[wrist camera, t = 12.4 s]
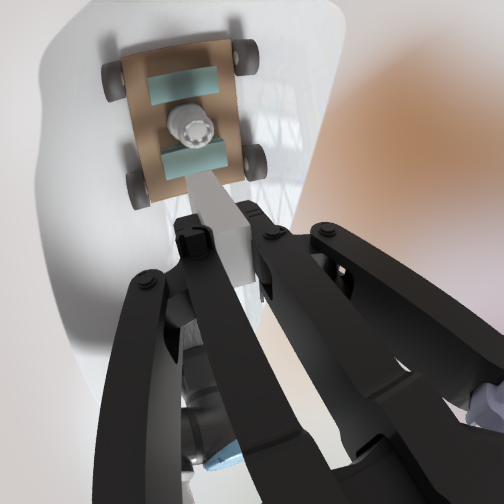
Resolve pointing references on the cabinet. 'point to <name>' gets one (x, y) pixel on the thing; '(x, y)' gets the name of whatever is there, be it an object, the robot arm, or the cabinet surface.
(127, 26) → the cabinet surface
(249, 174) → the chassis
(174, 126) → the rook chess piece
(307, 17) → the cabinet surface
